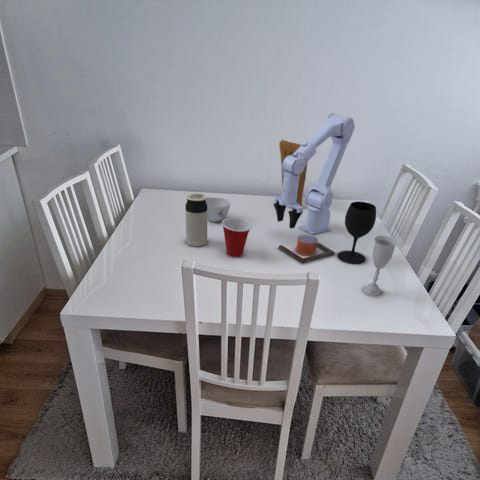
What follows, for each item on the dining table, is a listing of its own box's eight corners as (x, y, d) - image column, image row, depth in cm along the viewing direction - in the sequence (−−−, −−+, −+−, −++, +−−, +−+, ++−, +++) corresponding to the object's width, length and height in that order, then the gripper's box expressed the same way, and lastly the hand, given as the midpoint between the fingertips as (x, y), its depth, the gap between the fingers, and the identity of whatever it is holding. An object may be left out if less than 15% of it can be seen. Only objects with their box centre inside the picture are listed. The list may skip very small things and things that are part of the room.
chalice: (358, 285, 139) (371, 235, 129) (378, 285, 140) (392, 235, 130) (365, 297, 133) (379, 245, 123) (386, 297, 134) (401, 246, 124)
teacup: (235, 221, 179) (236, 203, 175) (211, 227, 173) (211, 208, 168) (215, 210, 189) (216, 193, 184) (192, 215, 182) (191, 197, 178)
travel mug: (211, 242, 161) (212, 196, 150) (196, 248, 156) (195, 201, 145) (197, 236, 165) (197, 191, 154) (182, 242, 160) (180, 195, 150)
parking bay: (309, 240, 167) (310, 237, 166) (334, 254, 158) (334, 251, 157) (278, 248, 159) (278, 245, 159) (302, 263, 150) (302, 260, 149)
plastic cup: (247, 262, 149) (249, 230, 142) (217, 258, 150) (218, 226, 143) (252, 249, 158) (254, 219, 151) (224, 245, 159) (225, 215, 152)
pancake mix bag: (295, 211, 193) (303, 147, 177) (272, 198, 206) (278, 138, 190) (307, 209, 196) (316, 146, 180) (283, 196, 209) (290, 137, 193)
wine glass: (366, 254, 159) (379, 203, 148) (364, 266, 151) (377, 213, 139) (339, 249, 162) (349, 198, 150) (335, 260, 153) (346, 208, 142)
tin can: (306, 245, 163) (308, 233, 160) (319, 253, 158) (321, 240, 155) (291, 249, 160) (293, 237, 157) (304, 257, 154) (306, 244, 152)
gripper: (269, 185, 159) (267, 219, 167) (294, 197, 150) (289, 233, 157) (284, 183, 163) (280, 216, 170) (308, 194, 153) (303, 229, 161)
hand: (286, 224), depth 164 cm, fingers open, 7 cm apart
